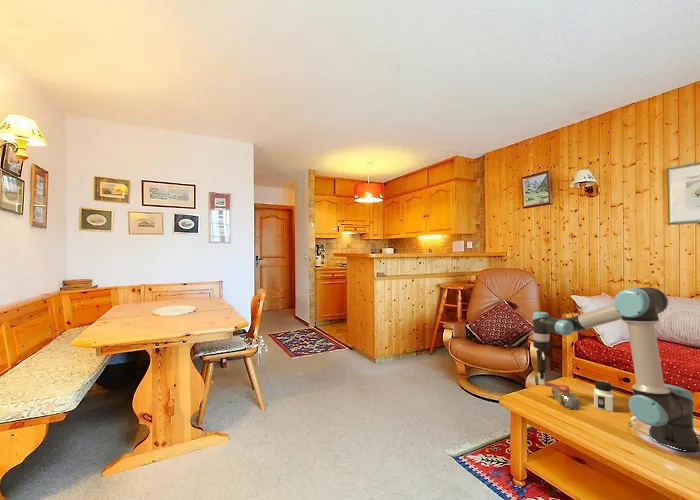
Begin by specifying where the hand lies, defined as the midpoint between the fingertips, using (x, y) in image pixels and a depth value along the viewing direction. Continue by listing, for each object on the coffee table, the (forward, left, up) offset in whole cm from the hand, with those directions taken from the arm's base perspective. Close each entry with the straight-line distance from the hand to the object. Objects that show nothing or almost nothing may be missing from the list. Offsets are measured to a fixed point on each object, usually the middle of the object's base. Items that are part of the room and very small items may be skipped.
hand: (541, 384), depth 180 cm
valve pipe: (-3, -10, -8) cm, 13 cm away
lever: (0, -5, -1) cm, 5 cm away
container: (-6, -27, -8) cm, 29 cm away
